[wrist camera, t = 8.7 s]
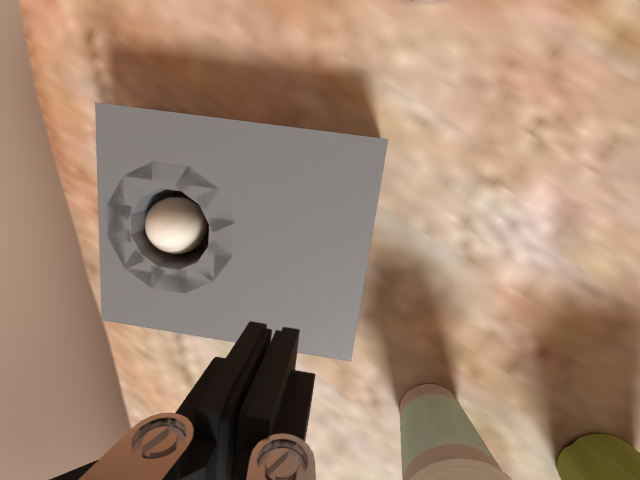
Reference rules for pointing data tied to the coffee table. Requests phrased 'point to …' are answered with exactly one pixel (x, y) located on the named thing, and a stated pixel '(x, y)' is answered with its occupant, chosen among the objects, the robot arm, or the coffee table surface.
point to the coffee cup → (442, 439)
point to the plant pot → (599, 459)
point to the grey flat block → (237, 225)
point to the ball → (175, 225)
